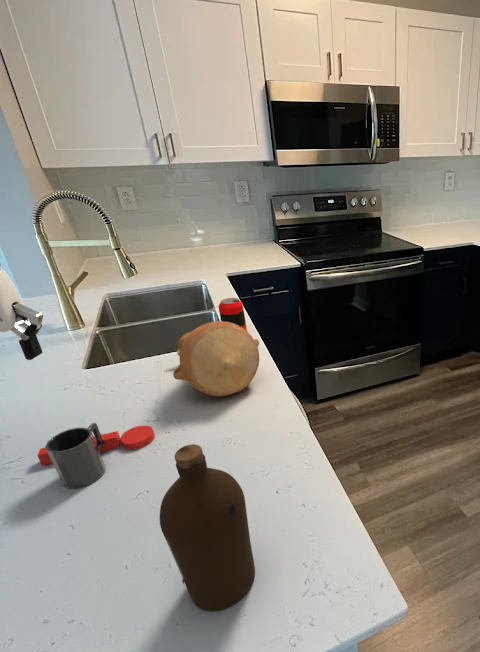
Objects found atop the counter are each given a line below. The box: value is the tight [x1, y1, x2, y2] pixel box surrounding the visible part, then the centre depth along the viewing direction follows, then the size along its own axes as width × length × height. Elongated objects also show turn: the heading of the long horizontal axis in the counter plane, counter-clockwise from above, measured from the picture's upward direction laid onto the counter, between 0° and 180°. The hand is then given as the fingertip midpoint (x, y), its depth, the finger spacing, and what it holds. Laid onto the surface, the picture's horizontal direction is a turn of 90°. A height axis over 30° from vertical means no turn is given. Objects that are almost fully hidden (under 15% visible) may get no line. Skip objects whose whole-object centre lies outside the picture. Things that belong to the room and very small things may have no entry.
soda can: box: [218, 297, 248, 332], centre depth 139 cm, size 8×8×12 cm
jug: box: [172, 320, 260, 397], centre depth 112 cm, size 20×19×30 cm
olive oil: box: [159, 443, 256, 612], centre depth 58 cm, size 11×11×25 cm
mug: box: [44, 422, 107, 490], centre depth 83 cm, size 11×7×9 cm, turn 0°
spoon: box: [36, 424, 156, 467], centre depth 89 cm, size 21×6×3 cm, turn 114°
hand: (8, 355), depth 77 cm, fingers open, 9 cm apart
